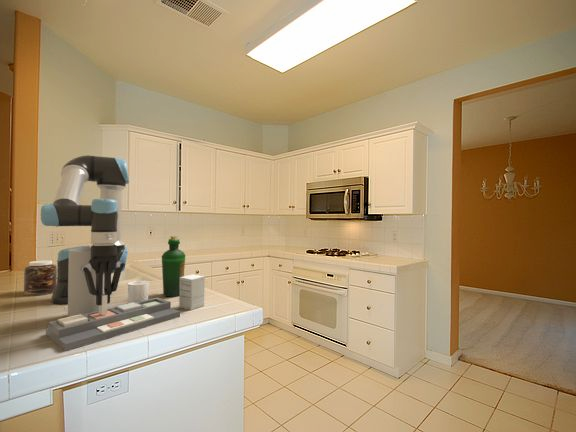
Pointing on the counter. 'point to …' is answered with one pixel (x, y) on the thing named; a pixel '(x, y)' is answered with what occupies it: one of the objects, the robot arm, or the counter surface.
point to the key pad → (110, 324)
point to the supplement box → (191, 291)
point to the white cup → (138, 291)
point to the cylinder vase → (80, 284)
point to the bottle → (172, 268)
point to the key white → (72, 320)
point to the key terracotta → (97, 315)
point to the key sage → (151, 303)
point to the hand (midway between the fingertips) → (102, 313)
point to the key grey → (128, 307)
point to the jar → (40, 278)
